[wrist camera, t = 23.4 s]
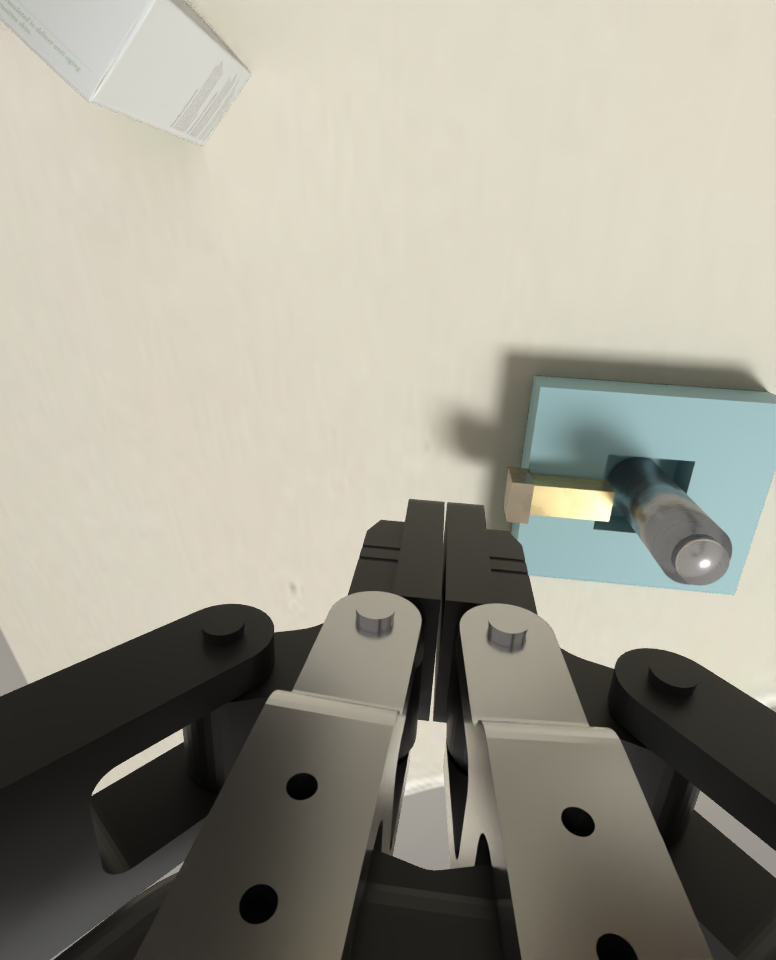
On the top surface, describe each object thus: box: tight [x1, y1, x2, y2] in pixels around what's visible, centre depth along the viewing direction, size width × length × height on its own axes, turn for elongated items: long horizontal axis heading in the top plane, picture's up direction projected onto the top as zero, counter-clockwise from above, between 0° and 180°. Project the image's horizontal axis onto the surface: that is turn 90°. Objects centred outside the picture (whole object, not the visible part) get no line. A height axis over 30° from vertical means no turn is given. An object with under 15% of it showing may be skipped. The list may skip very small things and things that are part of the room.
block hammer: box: [503, 467, 615, 524], centre depth 45 cm, size 3×8×3 cm, turn 87°
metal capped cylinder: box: [607, 457, 732, 586], centre depth 42 cm, size 4×4×13 cm
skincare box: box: [0, 0, 251, 146], centre depth 34 cm, size 8×7×16 cm
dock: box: [511, 376, 776, 595], centre depth 48 cm, size 16×18×4 cm
